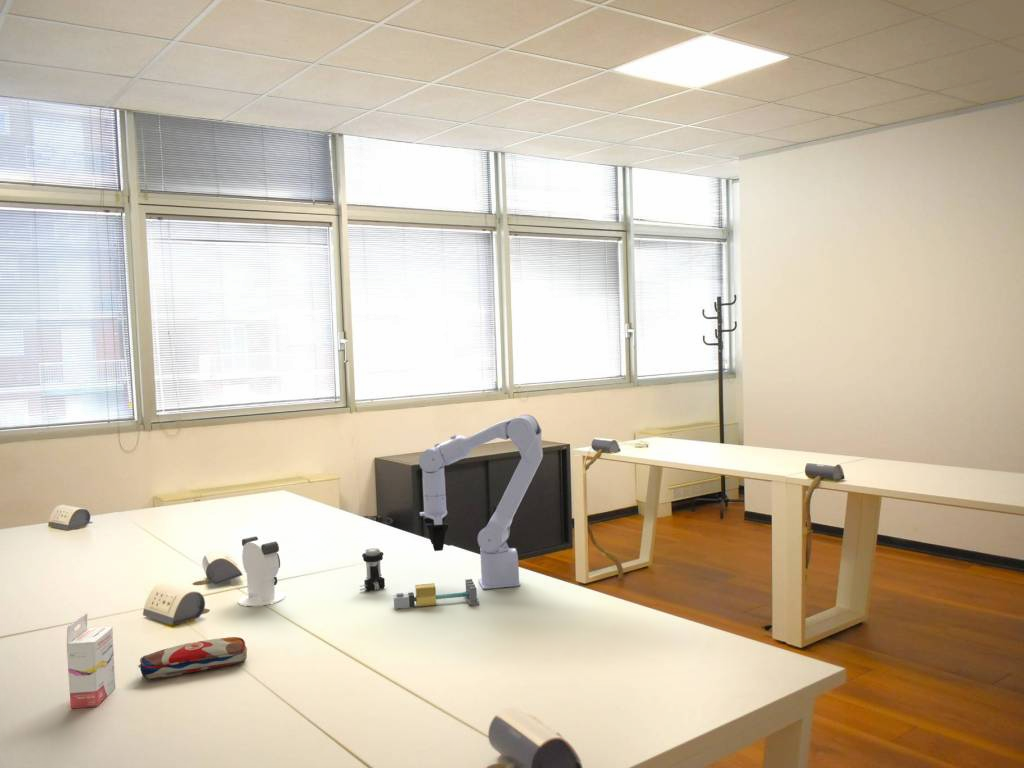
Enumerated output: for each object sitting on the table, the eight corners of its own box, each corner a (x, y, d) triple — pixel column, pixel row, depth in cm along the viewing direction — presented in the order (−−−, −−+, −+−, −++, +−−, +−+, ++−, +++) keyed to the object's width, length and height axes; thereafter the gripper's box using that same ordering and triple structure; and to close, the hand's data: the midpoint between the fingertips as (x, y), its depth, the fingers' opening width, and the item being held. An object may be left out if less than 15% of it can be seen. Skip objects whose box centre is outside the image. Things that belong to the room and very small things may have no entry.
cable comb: (473, 594, 206) (473, 577, 206) (479, 605, 197) (478, 588, 197) (464, 595, 206) (463, 578, 206) (469, 606, 197) (468, 589, 197)
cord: (470, 595, 202) (470, 591, 202) (470, 596, 201) (470, 592, 201) (403, 601, 199) (403, 597, 199) (403, 603, 198) (403, 598, 198)
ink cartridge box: (98, 707, 149) (93, 625, 148) (69, 709, 148) (64, 627, 148) (117, 687, 157) (112, 610, 156) (90, 689, 157) (84, 612, 156)
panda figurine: (295, 598, 209) (292, 538, 208) (254, 610, 201) (250, 548, 200) (269, 590, 217) (266, 532, 217) (229, 601, 209) (225, 541, 208)
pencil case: (241, 676, 161) (240, 650, 161) (133, 686, 158) (131, 660, 158) (250, 655, 172) (248, 631, 171) (149, 665, 169) (147, 640, 168)
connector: (408, 604, 200) (408, 591, 200) (409, 607, 198) (408, 594, 197) (394, 605, 200) (393, 592, 199) (394, 609, 197) (393, 595, 197)
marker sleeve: (434, 600, 202) (434, 583, 202) (436, 604, 198) (435, 587, 198) (416, 602, 201) (415, 585, 201) (417, 606, 198) (416, 589, 197)
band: (413, 603, 200) (413, 592, 200) (414, 607, 198) (414, 595, 198) (408, 604, 200) (408, 592, 200) (409, 607, 198) (408, 596, 197)
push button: (364, 594, 210) (362, 554, 210) (355, 589, 214) (353, 551, 214) (388, 588, 214) (386, 550, 213) (379, 584, 218) (377, 546, 218)
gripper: (416, 491, 222) (419, 541, 223) (421, 500, 208) (423, 555, 209) (443, 489, 224) (445, 539, 224) (449, 498, 209) (452, 552, 210)
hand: (437, 547), depth 217 cm, fingers open, 7 cm apart
